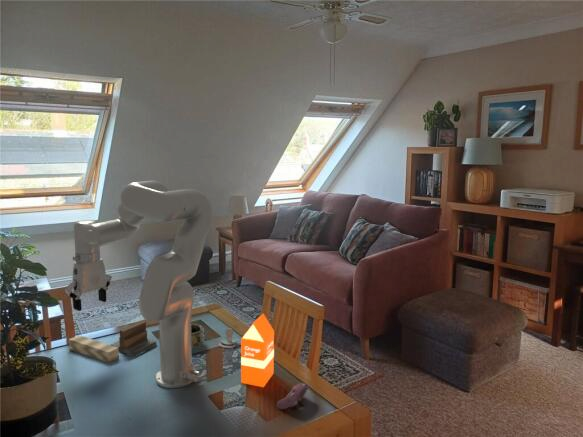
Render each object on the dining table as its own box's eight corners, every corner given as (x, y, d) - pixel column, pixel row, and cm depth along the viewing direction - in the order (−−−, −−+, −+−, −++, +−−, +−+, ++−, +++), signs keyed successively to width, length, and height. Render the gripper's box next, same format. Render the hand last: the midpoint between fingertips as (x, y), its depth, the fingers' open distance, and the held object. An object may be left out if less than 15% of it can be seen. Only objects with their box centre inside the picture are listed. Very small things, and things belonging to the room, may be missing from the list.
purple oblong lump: (286, 418, 121) (296, 401, 118) (274, 406, 123) (283, 389, 120) (304, 401, 129) (314, 384, 126) (292, 390, 131) (302, 374, 128)
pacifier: (233, 350, 157) (240, 343, 162) (233, 334, 156) (240, 327, 161) (215, 347, 159) (223, 340, 165) (215, 331, 158) (222, 324, 163)
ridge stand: (156, 345, 159) (155, 324, 158) (134, 356, 150) (133, 334, 149) (133, 337, 165) (132, 317, 163) (110, 348, 156) (109, 327, 155)
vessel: (210, 344, 161) (210, 328, 160) (193, 353, 154) (193, 336, 153) (187, 336, 167) (187, 320, 166) (170, 344, 160) (169, 328, 159)
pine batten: (118, 358, 150) (118, 347, 149) (109, 363, 146) (108, 352, 145) (79, 345, 159) (79, 335, 158) (69, 349, 155) (69, 339, 154)
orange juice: (240, 382, 135) (240, 321, 132) (251, 369, 144) (252, 311, 140) (264, 387, 133) (264, 325, 130) (274, 373, 141) (275, 314, 138)
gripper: (71, 264, 137) (74, 316, 140) (116, 253, 152) (118, 300, 155) (56, 260, 141) (59, 311, 144) (102, 250, 156) (104, 296, 159)
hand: (90, 305), depth 150 cm, fingers open, 9 cm apart
